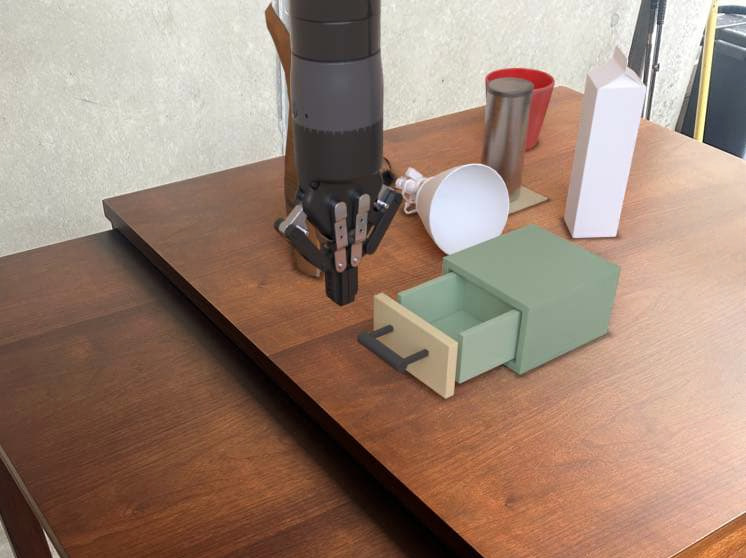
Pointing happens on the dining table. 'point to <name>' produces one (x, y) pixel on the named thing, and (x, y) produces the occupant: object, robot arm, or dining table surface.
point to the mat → (526, 200)
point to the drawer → (443, 331)
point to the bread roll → (387, 174)
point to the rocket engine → (458, 205)
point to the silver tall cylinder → (507, 130)
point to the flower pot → (539, 96)
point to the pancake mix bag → (289, 133)
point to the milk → (604, 148)
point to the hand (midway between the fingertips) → (342, 300)
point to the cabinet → (543, 289)
